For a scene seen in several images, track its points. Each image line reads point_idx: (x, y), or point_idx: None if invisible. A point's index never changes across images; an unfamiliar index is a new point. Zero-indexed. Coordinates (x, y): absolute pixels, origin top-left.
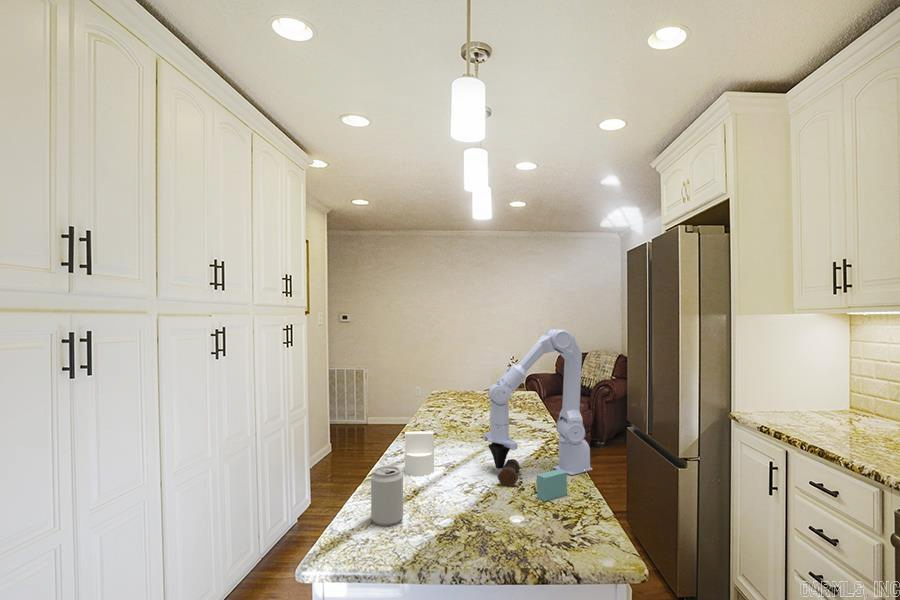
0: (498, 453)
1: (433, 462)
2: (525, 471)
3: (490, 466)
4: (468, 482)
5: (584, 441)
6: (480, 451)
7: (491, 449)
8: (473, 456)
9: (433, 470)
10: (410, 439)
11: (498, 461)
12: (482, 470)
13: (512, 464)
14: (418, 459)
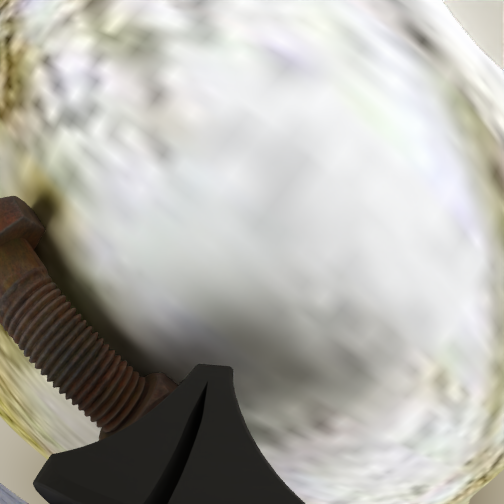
0: (92, 444)
1: (500, 16)
2: None
3: (358, 385)
4: (191, 46)
5: None
6: (492, 420)
7: (229, 488)
8: (498, 375)
9: (472, 29)
10: None
11: (167, 400)
12: (341, 299)
13: (93, 419)
14: None
